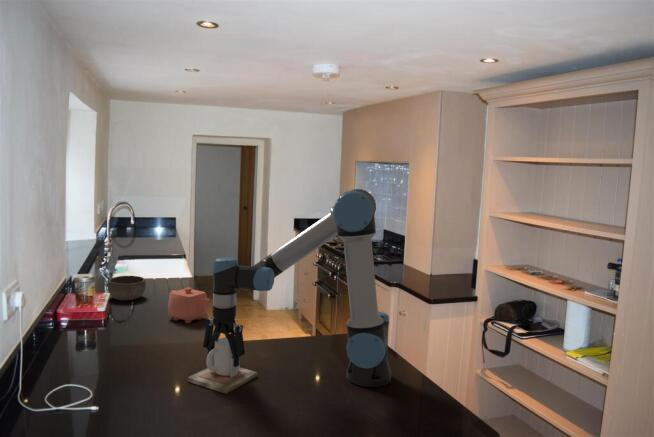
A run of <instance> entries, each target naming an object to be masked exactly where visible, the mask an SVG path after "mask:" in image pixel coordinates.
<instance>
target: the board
mask: <svg viewBox="0 0 654 437" xmlns="http://www.w3.org/2000/svg"><path fill="white" fill-rule="evenodd" d="M257 377H258V372H257V371H254V370H251V369H247V368H243V367H240V366H239V371H238V373H237V375H235V376H233V377H230V376H222V375H218V374H216V373H215V371H214V370H212V371H210V370H209V368H208V367H206V368H205V369H202V370H200V371H197V373H193V374H192V375H190V376H187V383H192V384H195V385H196V386H200V387H204V388H207V389H210V390H212V391H213V390H214V391H216V392H220V393H223V394H229V393H230V392H232V391H234V390H235V389H237V388H239V387H241V386H243V385H245V384H246V383H248V382H249V381H251V380H253V379H255V378H257Z"/></svg>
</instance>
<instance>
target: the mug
mask: <svg viewBox="0 0 654 437" xmlns="http://www.w3.org/2000/svg"><path fill="white" fill-rule="evenodd" d="M213 354H214V366H212V365H211V362H210V361H211V357H212V355H213ZM232 356H233V355H232V352H231V349H230V345H229V342H228V339H227V338H226V336H224V337H219V339H218V341H217V342H216V341H215V348H214V349H212V350H211V351H210V352H209V354H208V353H207V356H206V360H205V361H206V368H209V369H210V370H214V371H215V373H216V374H218V375H222V376H230V370H231V357H232ZM240 358H241V356H240V357H239V366H238V371H239V367H240V362H241V361H240V360H241V359H240Z"/></svg>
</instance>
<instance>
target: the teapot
mask: <svg viewBox="0 0 654 437" xmlns="http://www.w3.org/2000/svg"><path fill="white" fill-rule="evenodd" d="M168 298H169V299H168V305H167V312H168V316H169V317H172V318H173V321H180V320H183V321H184V323H185V324H191V323H192V321H194V320H202V319H203V317H205V316H207V315H208V311H209V308H208V304H209V301H210V298H208V296H207V293H206V291H201V290H197V289H193V288H192V287H185V288H183V289H180V290H170V291H169V297H168Z"/></svg>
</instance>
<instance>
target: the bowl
mask: <svg viewBox="0 0 654 437" xmlns="http://www.w3.org/2000/svg"><path fill="white" fill-rule="evenodd" d="M146 284H147V283H146V278H144V277H142V276H138V275H120V276H115V277H111V278H109V279H108V282H107V288H108V293H109V294H110V296H111V297H112V298H113V299H115V300H118V301H123V302H125V301H127V302H128V301H133V300H137V299H139V298H140V297H142V295H143V294H144V292H145V291H146Z"/></svg>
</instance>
